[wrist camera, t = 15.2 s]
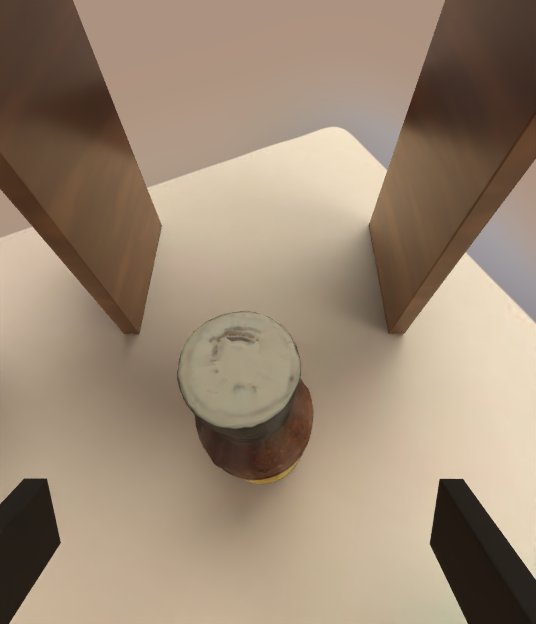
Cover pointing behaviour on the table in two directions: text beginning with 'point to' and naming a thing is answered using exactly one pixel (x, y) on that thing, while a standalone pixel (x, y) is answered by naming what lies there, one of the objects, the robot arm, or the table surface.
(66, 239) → the shelf
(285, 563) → the table surface
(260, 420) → the sauce bottle
